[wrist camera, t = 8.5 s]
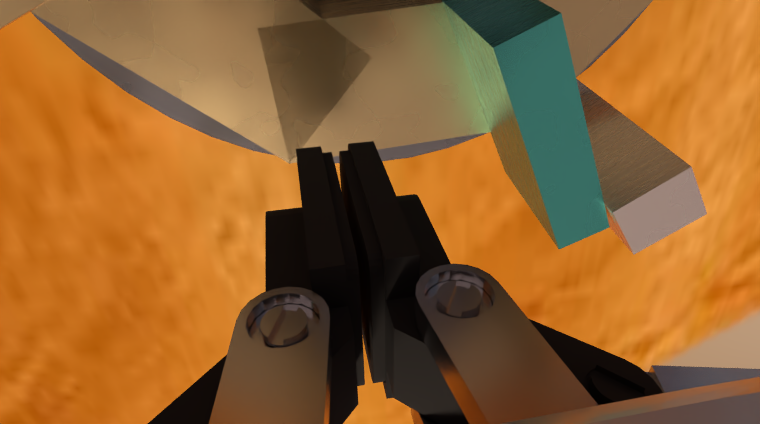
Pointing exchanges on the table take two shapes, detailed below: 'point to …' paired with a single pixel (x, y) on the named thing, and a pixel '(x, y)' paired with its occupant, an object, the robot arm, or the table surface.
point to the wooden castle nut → (378, 76)
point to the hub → (604, 123)
